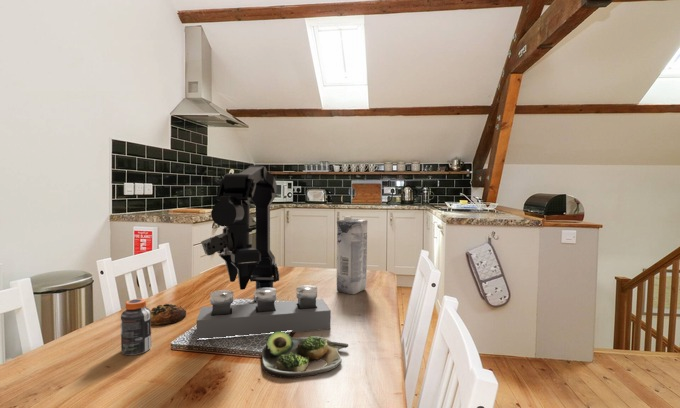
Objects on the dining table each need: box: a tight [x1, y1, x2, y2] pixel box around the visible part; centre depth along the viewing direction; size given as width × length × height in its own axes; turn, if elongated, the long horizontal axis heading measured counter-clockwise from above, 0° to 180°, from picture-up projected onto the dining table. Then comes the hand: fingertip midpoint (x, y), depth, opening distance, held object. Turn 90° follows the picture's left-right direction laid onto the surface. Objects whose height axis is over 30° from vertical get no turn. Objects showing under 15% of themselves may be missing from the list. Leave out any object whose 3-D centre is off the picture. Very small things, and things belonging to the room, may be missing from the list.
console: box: [196, 298, 332, 340], centre depth 96 cm, size 10×33×5 cm, turn 105°
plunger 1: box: [209, 289, 234, 316], centre depth 93 cm, size 6×6×7 cm
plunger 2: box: [296, 284, 318, 309], centre depth 99 cm, size 6×6×7 cm
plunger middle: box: [254, 287, 277, 313], centre depth 96 cm, size 6×6×7 cm
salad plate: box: [261, 331, 349, 379], centre depth 80 cm, size 19×18×5 cm
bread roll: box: [150, 303, 187, 326], centre depth 102 cm, size 11×11×5 cm
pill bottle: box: [120, 298, 152, 356], centre depth 82 cm, size 6×6×11 cm
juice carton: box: [336, 215, 368, 295], centre depth 131 cm, size 9×10×27 cm
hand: (237, 285), depth 91 cm, fingers open, 9 cm apart
